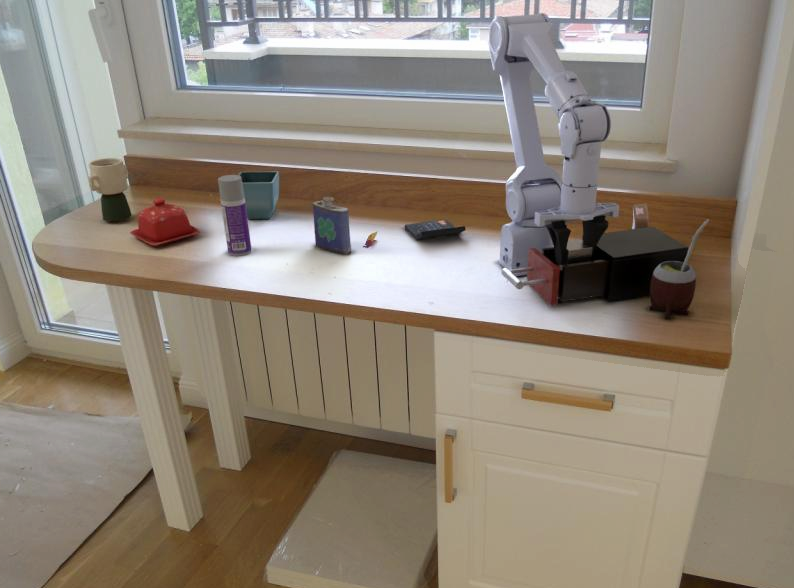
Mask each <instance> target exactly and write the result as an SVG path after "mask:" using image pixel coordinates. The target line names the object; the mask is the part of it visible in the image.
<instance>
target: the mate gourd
mask: <svg viewBox="0 0 794 588" xmlns="http://www.w3.org/2000/svg"><path fill="white" fill-rule="evenodd" d="M710 221H711V219H710V218H707V219H705V221H704V222H703V223H702V224H701V225H700V226H699V227H698V229H697V230H696V232H695V234H693V236H692V238H691V243H690V246H689V247H688V253H687V256H686V258H685V261H684V263H683V262H678V261H667V262H663V263H661V264H659V265H658V266H657V267H656V269H655V270H654V273H653V275H652V278H651V283H650V296H649V299H650V306H649V311H652V312H660V313H664V320H670V319H671V315H672V314H673V315H674V314H675V315H683V316H688V315H689V313H690V310H689V308H690V306H691V304H692V302H693V300H694V296H695V290H696V286H697V285H696V284H697V275H696V272H695V270H694V268H693V267H692V266H691V265H690V264H688V263H689V260H690V258H691V255H692V252H693V249H694V247H695V244H696V243H697V242H698V239H699V237H700V236H699V235H700V234H701V232H702V231H703V230H704V228H705V227H706V226H707V225H708V224H709V222H710Z"/></svg>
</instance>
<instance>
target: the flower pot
mask: <svg viewBox="0 0 794 588" xmlns="http://www.w3.org/2000/svg"><path fill="white" fill-rule="evenodd" d="M238 175H239V176H241V178H242V185H243V191H244V197H245V203H246V211H247V219H248V220H269V219H272V216H273V214H274V212H275V209H276V207H277V205H278V200H279V197H280V171H278V170H274V171H272V170H271V171H269V170H268V171H240V172H239V173H238Z"/></svg>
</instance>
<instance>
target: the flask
mask: <svg viewBox="0 0 794 588" xmlns="http://www.w3.org/2000/svg"><path fill="white" fill-rule="evenodd" d="M334 200H335V198H334V197H333V196H330V197H329V196H325V197H323V199H321V200H320V201H314V202H313V203H312V214H313V226H314V227H313V229H314V241H315V242H314V243H315V244H314V245H315V247H316V248H318V249H320V250H322V251H328V252H331V253H335V254H338V255H349V254H350V253H352V243H351V232H350V213H349V208H348V207H342V206H337V205H333V204H334Z"/></svg>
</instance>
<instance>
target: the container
mask: <svg viewBox="0 0 794 588" xmlns="http://www.w3.org/2000/svg"><path fill="white" fill-rule="evenodd" d="M217 181H218V192H219V200H220V207H221V215H222V221H223V226H224V227H223V228H224V234H225V239H226V246H227V253H228V255H230V256H232V257H242V256H247V255H249V254H251V253H252V251H253V250H252V243H251V235H250V234H251V233H250V227H249V219H248V218H247V211H246V203H245V197H244V191H243V185H242V178H241V176H239V174H227V175H226V174H225V175H222V176H220V177H218V178H217Z"/></svg>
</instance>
